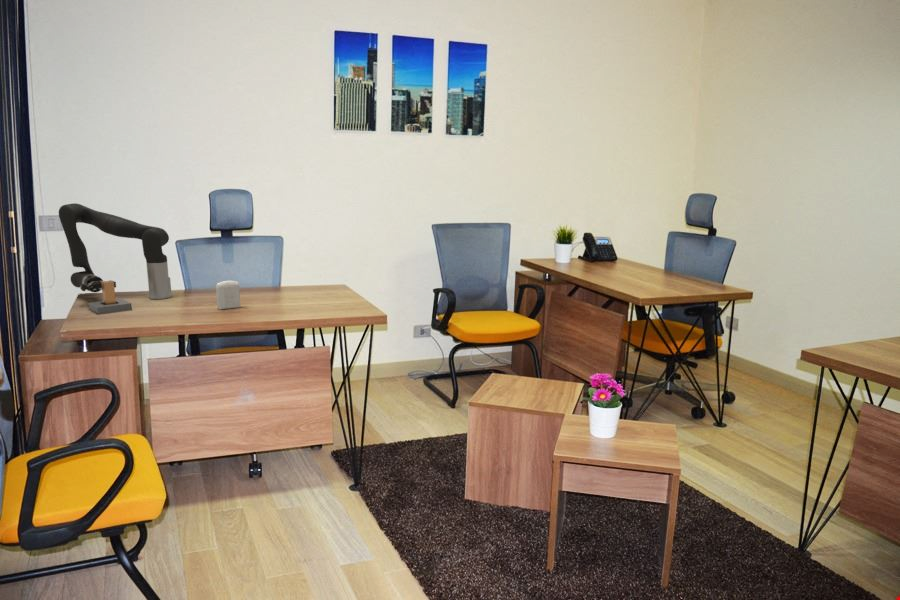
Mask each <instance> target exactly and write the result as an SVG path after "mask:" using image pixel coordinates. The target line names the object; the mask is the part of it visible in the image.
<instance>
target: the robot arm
mask: <svg viewBox="0 0 900 600" xmlns="http://www.w3.org/2000/svg"><path fill="white" fill-rule="evenodd" d="M58 217H59V221H60V224H61V226H62V229H63V231H64V234H65V235H64V236H65V237H66V240H67V243H68V248H69V252H70V258H71V264H72V266H73V267H75V268H82V269H84V270H83V271H76V272H73V273H72V274H71V275H70V282H71V284H72V285H73V286H74V287H75V288H80V290H81V291H82V292H85V291H86V290H87V291H86V292H92V293H98V292H101V291H102V285H101V282H103V281H104V280H103V278H102V277H99V276H98V275H96V274H95V273H94V271H93V269H92V268H91V265H90V261H89V257H88V252H87V251H88V250H87V247H86V246H85V244H84V241H83V240H82V239H81V236H80V235H79V233H78V228H77V223H78V224H79V223H81V224H87V225H91V226H93V227H95V228H97V229H99V230H100V231H101V232H103V233H105V234H109V235H112V236H113V237H119V238H128V239H136V240H141V244H142V252H143V256H144V258H145V262H146V272H147V283H148V296H149V299H151V300H164V299H168V298H173V297H172V295H173V294H172V285H171V277H169V276H170V275H169V267H168V257H167V255H166V254H164V252H163V248H162V247H163V246H165V245H167V244H168V242H169V240H170V238H169V237H170V236H169V234H168V232H167V231H166V230H165V229H163V228H161V227H157V226H151V225H147V224H142V223H140V222H139V223H138V222H136V221H134V220H133V221H132V220H131V219H127V218H125V217H122V216H118V215H115V214H110V213H107V212H104V211H103V212H102V211H99V210H98V211H97V210H95V209H92V208H90V207H88V206H86V205H85V206H84V205H83V204H80V203H76V202H75V203H68V204H63V205H61V206H60V207H59V209H58ZM109 281H113V282H114V289H115V288H117V282H116V281H115V280H109Z"/></svg>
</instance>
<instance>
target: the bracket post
mask: <svg viewBox="0 0 900 600" xmlns="http://www.w3.org/2000/svg"><path fill="white" fill-rule="evenodd" d="M113 281H114V280H111V281H110V280H106V281H105V280H103V282H101V285H102V290H101V293H102V294H101V295H102V301H103V304H104V305H110V304H116V299H117V298H116V293H115V292H116V291H115V288H114V282H115V281H114V282H113Z"/></svg>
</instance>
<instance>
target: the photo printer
mask: <svg viewBox="0 0 900 600" xmlns="http://www.w3.org/2000/svg"><path fill="white" fill-rule="evenodd" d="M240 291H241V290H240V283H239V282H238V281H236V280H223V281H220V282H218V283H216V285H215V292H216V293H215V294H216V309H217V310H219V311H220V310H228V309H237V308H241V294H240V293H241V292H240Z"/></svg>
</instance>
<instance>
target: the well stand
mask: <svg viewBox="0 0 900 600" xmlns="http://www.w3.org/2000/svg"><path fill="white" fill-rule="evenodd" d="M115 299H116V304H110V305H104V304H103V300H99V301H91V302H88V303H87V304H88V310H89V311H91V312H93V313H94V314H96V315H103V314H112V313H113V314H114V313H120V312H127V311H132V310H133V309H132V308H133V307H132V303H131V302H130V301H128V300H126V299H123V298H115Z"/></svg>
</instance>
